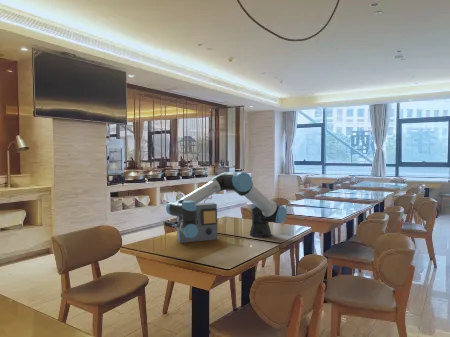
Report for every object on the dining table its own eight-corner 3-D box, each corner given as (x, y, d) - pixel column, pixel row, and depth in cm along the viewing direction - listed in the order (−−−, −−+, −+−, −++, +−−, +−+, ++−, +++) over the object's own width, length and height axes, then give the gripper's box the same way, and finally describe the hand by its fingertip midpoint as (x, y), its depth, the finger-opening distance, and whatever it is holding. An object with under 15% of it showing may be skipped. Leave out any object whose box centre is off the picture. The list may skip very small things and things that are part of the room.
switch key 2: (202, 222, 233) (202, 210, 232) (214, 221, 235) (214, 210, 235) (204, 223, 230) (203, 211, 229) (215, 222, 232) (215, 210, 232)
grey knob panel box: (177, 240, 236) (176, 204, 235) (214, 236, 244) (213, 202, 243) (180, 243, 226) (179, 206, 225) (218, 239, 234) (217, 204, 234)
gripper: (164, 234, 195) (159, 227, 215) (207, 231, 202) (198, 224, 222) (163, 221, 194) (159, 215, 215) (207, 218, 202) (198, 213, 222)
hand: (179, 220), depth 219 cm, fingers open, 13 cm apart
